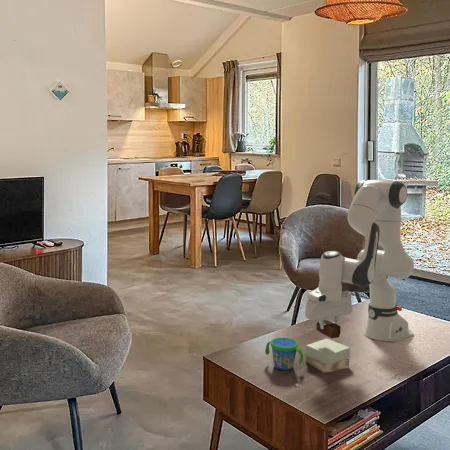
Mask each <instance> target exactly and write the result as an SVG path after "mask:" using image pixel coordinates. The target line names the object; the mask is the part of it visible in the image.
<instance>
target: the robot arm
mask: <svg viewBox="0 0 450 450" xmlns="http://www.w3.org/2000/svg"><path fill="white" fill-rule="evenodd" d="M407 197H408V189H407V187H406V185H405V183H403V182H401V181H398V180H395V181H392V180H387V179H362V180H360V181H359V182H358V183H356V185H355V188H354V197H353V199H352V201H351V203H350V206H349V209H348V212H347V216H346V217H347V223H348V225H349V226H350V227H351V229H353V230H354V231H355V232H357V233H359V234H360V235H361V236H363V237H364V239H365V241H364V248H363V249H362V250H360V252H358V255H357V257H356V258H355V259H354V258H350V257H346V256H343V255H342V253H341V252H340V251H336V250H330V251H329V250H328V251H325V252H323V253H322V255H321V257H320V261H319V269H318V270H319V271H318V277H319V282H318V287H316V288H315V289H313V290H311V291H309V292H308V293H307V294H306V298H307V301H306V303H305V310H304V311H305V312H304V314H305V315H304V316H305V317H306V319H308V320H309V321H317V322H318V321H319V323H320V328H321V329H326V324H324V323H323V321H324V320H325V319H329V318H333V320H332V321H331V322H332V323H335V324H337V325H338V323H339V320H340V318H341V316H345V315H350V314H352V312H353V303H352V293H351V291H349V290H344V291H342V290H343V289H342V288H343V285H342V283H346V284H347V283H348V284H351V285H355V286H358V287H361V288H365V287H367V286H369V303H368V308H367V312H368V315H367V322H366V325H365V330H364V335H365V336H366V337H367V338H369V339H373V340H376V341H382V342H389V343H390V342H391V343H397V342H400V341H402V340H406V339H407V338H410V337H414V336H415V333H414V331H412V330H411V329H409V322H408V320H406V319H405V318H404V317H403V316H401V315H400V314H399V312H402V311H403V307H402V306H400V305H396V299H397V298H396V297H397V296H396V295H397V291H396V287H395V286H394V285H393V284H392V283H390V282H389V280H388V279H387V277H388V278H392V279H393V278H394V279H407V278H409V277H410V276H411V275H413V272H414V269H415V262H414V260H413V259H412V257H411V256H410V255H409V254H408V253H407V252H406V249H405V248H404V246H403V244H402V240H401V239H402V238H401V226H402V225H401V224H402V206H403V205H404V204H405V202H406V200H407ZM379 243H380V245H381V246H382V247H383V248H382V249H383V250H382V249H379ZM398 311H399V312H398Z"/></svg>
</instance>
